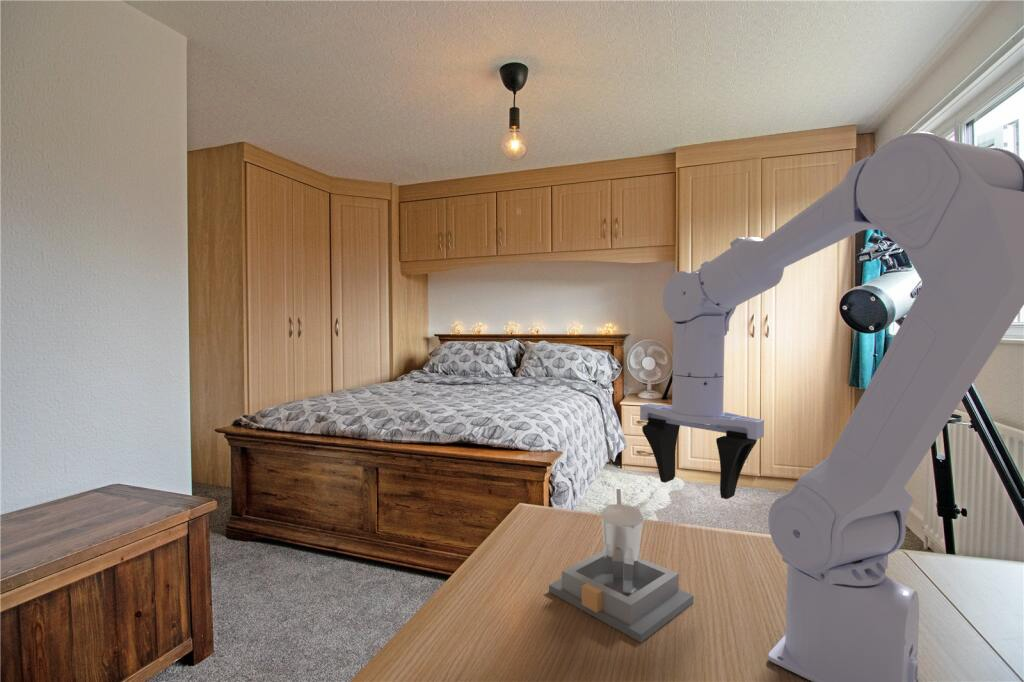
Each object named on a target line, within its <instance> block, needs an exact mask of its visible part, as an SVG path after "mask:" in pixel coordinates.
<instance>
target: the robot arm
mask: <svg viewBox="0 0 1024 682" xmlns="http://www.w3.org/2000/svg"><path fill="white" fill-rule="evenodd" d="M867 230H869V231H870V230H872V231H873V230H876V231H877V230H879V231H880V232H881V233H883V234H884V235H885V236H886V237H888V238H889V239H890V240H891V241H892V242H893V243H894V244H896V245H897V246H899V248H901V249H902V250H903V251H904V252H905V254H906V255H907V257H908V259H909V261H910V263H911V264H912V266H913V268H914V269H915V272H916V273H917V274H918V277H919V278H920V280H921V283H922V285H921V288H920V290H919V292H918V294H917V295H916V297H915V299H914V300H913V302H912V304H911V306H910V308H909V310H908V312H907V313H906V315H905V317H904V319H903V321H902V323H901V324H900V326H899V327H898V330H897V332H896V333H895V335H894V337H893V339H892V341H891V343H890V345H889V346H888V347H887V350H886V352H885V353H884V355H883V357H882V359H881V361H880V362H879V364H878V366H877V368H876V370H875V372H874V374H873V375H872V377H871V379H870V380H869V383H868V385H867V386H866V388H865V390H864V391H863V393H862V396H861V397H860V399H859V401H858V403H857V405H856V406H855V408H854V410H853V412H852V413H851V415H850V417H849V419H848V420H847V423H846V425H845V427H844V428H843V430H842V432H841V434H840V435H839V438H838V439H837V440H836V442H835V445H834V446H833V449H831V450H832V451H831V452H830V454H829V455H828V456H827V457H826V458H824V460H822V461H821V462H819V463H818V464H817V465H815V466H814V467H812V468H811V469H809V470H808V471H806V473H804V474H802V475H801V476H800V477H799V478H798V480H797V481H796V483H795V485H794V486H793V488H792V489H791V490H790V491H789V492H788V493H787V494H784V495H781V496H780V497H778V498H776V499H775V501H774V502H773V503H772V504H771V506H770V508H769V512H768V518H767V519H768V523H767V524H768V530H769V533H770V537H771V539H772V542H773V544H774V546H775V548H776V549H777V550H778V552H779V554H780V555H781V556H782V558H781V560H782V562H783V563H786V566H787V567H786V598H785V599H786V603H785V634H784V635H783V636H782V637H781V639H779V641H778V642H777V643H776V644H775V645H774V646H773V648H771V650H770V651H769V652H768V653H767V659H768V660H769V661H770V662H771V663H773V664H775V665H777V666H780V667H782V668H783V669H785V670H787V671H790V672H792V673H794V674H795V675H798V676H800V677H802V678H804V679H807V680H808V681H810V682H917V680H918V676H919V662H918V647H919V646H918V645H919V623H920V622H919V621H920V619H919V618H920V617H919V616H920V614H919V613H920V606H919V605H920V601H919V594H918V591H917V590H915V589H913V588H911V587H908V586H906V585H904V584H903V583H900V582H897V581H895V580H894V579H893V578H891V577H889V576H887V575H886V570H887V569H888V567H889V566H888V562H889V560H888V559H889V558H888V557H889V555H891V554H893V553H895V552H896V551H898V550H899V549H900V548H901V547H902V545H903V544H904V542H905V538H906V534H907V531H906V530H907V528H906V525H907V523H906V522H907V521H906V519H907V515H908V512H909V510H910V509H911V507H912V506H913V504H914V503H915V499H914V496H912V494H911V493H910V490H908V489H907V487H906V486H907V484H908V483H909V481H910V480H911V478H912V477H913V475H914V474H915V472H916V471H917V469H918V467H920V464H921V463H922V461H923V460H924V458H925V457H926V455H927V453H928V452H929V450H930V449H931V447H932V446H933V445H934V443H935V442H936V440H937V438H939V435H940V434H941V433H942V431H943V429H944V427H945V426H946V425H947V424H948V422H949V420H950V418H951V417H952V415H953V414H954V412H955V411H956V409H957V408H958V406H959V405H960V404H961V402H962V400H963V398H964V397H965V396H966V394H967V392H968V391H969V390H970V388H971V386H972V385H973V383H974V382H975V380H976V379H977V377H978V376H979V374H980V372H981V371H982V369H983V368H984V366H985V365H986V363H987V362H988V361H989V359H990V357H991V356H992V355H993V353H994V351H995V350H996V349H997V346H999V344H1000V342H1001V341H1002V339H1003V338H1004V336H1005V334H1006V333H1007V331H1008V329H1009V328H1010V327H1011V325H1012V324H1013V322H1014V320H1015V319H1016V318H1017V316H1018V314H1019V313H1020V311H1021V310H1022V308H1023V307H1024V160H1023V159H1022V158H1021V157H1020V156H1019V155H1017V154H1016V153H1014V152H1012V151H1010V150H1007V149H1002V148H997V147H983V146H978V145H974V144H969V143H964V142H960V141H956V140H952V139H947V138H945V137H943V136H940V135H938V134H935V133H932V132H927V131H926V132H925V131H918V132H917V131H916V132H910V133H906V134H902V135H899V136H897V137H895V138H893V139H891V140H889V141H887V142H886V143H884V144H883V145H881V146H880V147H879V148H878V149H877V150H876V151H875V152H874V153H872V154H871V155H870V156H867V157H864V158H862V159H860V160H858V161H856V162H855V163H853V164H852V165H850V166H849V168H848V170H847V172H846V173H845V175H844V177H843V179H842V181H841V182H839V183H838V184H837V185H835V186H834V187H833V188H832V189H830V190H829V191H828V192H826V193H825V194H823V195H822V196H820V198H818V199H817V200H815V201H814V202H812V203H811V204H810V205H808V206H807V207H806V208H804V209H803V210H802V211H801V212H799V213H798V214H796V215H795V216H793V217H792V218H791V219H790V220H788V221H787V222H785V223H784V224H783V225H781V226H780V227H779V228H777V229H776V230H774V231H772V233H771V234H769V235H768V236H766V237H765V238H761V237H758V236H757V237H756V236H748V237H735V239H733V240H732V241H731V242H729V245H730V247H729V248H728V249H727V250H725V251H724V252H722V253H721V254H719V255H718V256H715V257H714V258H713V259H711V260H705V261H704V262H702V263H701V264H700V267H699V268H698V269H696V270H693V271H692V272H690V271H685V270H679V271H678V270H677V271H676V272H674V274H673V275H672V276H671V277H670V278H669V279H668V280H667V282H666V283H665V286H664V289H663V293H662V306H663V309H664V311H665V314H666V316H667V317H668V318H669V319H670V320H672V325H673V326H672V386H671V387H672V391H671V392H672V395H671V397H672V398H671V399H672V401H671V404H672V405H669V404H668V405H665V404H657V403H656V404H655V403H644V404H640V407H639V411H640V412H639V420H640V421H646V424H644V425H642V428H641V429H642V433H643V435H644V436H645V438H646V441H647V442H648V444H649V446H650V448H651V449H650V450H651V451H652V453H653V456H654V460H655V463H656V466H657V471H658V474H659V475H658V476H659V478H660V479H659V480H660V482H661V483H665V484H666V483H668V482H670V481H673V480H674V479H675V475H676V449H677V442H678V436H679V431H680V427H681V426H682V427H686V428H687V427H688V428H694V429H700V430H706V431H712V432H717V433H721V434H722V433H723V434H725V435H723V436H720V437H716V440H715V441H716V446H717V450H718V458H719V465H720V468H719V469H720V475H719V476H720V478H719V479H720V480H719V491H720V492H719V494H720V498H721V499H724V500H729V499H731V498H732V497H735V494H736V490H737V485H738V481H739V478H740V475H741V473H742V470H743V467H744V465H745V464H746V461H747V459H748V457H749V455H750V454H751V452H752V450H753V449H754V447H755V445H756V444H757V442H758V440H759V439H762V438H764V435H765V419H760V418H755V417H749V416H745V415H740V414H735V413H731V412H726V411H724V397H725V395H724V390H725V388H724V386H725V383H724V381H725V380H724V379H725V337H726V336H727V335H728V332H730V321H731V318H732V316H733V314H734V313H735V311H736V309H737V307H738V306H740V305H741V304H744V303H745V302H747V301H749V300H751V299H753V298H754V297H757V296H758V295H761V294H762V293H764V292H766V291H769V290H770V289H772V288H774V287H776V286H778V285H779V283H780V282H781V280H782V279H783V276H784V271H785V268H787V267H789V266H791V265H793V264H795V263H796V262H799V261H801V260H803V259H805V258H807V257H810V256H812V255H813V254H816V253H818V252H820V251H822V250H824V249H827V248H828V247H830V246H832V245H834V244H837V243H839V242H840V241H843V240H845V239H846V238H848V237H851V236H853V235H855V234H857V233H860V232H861V231H862V232H863V231H867Z"/></svg>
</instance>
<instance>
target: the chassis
mask: <svg viewBox="0 0 1024 682" xmlns="http://www.w3.org/2000/svg"><path fill="white" fill-rule="evenodd" d="M679 575H680V574H679V572H676V571H673V570H670V569H668V568H666V567H664V566H661V565H659V564H656V563H653V562H651V561H648V559H647V560H646V559H644V558H641V557H639V563H638V574H637V585H636V590H635V591H634V592H632V593H630V594H621V593H619V592H617V591H615V590H613V589H611V588H609V587H607V583H606V569H605V553H604V549H603V550H601V551H598V552H597V553H595V554H592V555H591V556H588V557H587V558H585V559H582V560H580V561H579V562H577V563H574V564H573V565H571V566H569V567H567V568H565V569H563V570H561V578H560V579H558V580H556V581H554V582H552V583H549V584H548V592H549V593H550V594H552V595H554V596H556V597H558V598H559V599H561V600H563V601H564V602H566V603H568V604H570V605H572V606H574V607H575V608H578V609H579V610H581V611H582V612H585V613H587V614H588V615H589V616H592V617H594V618H595V619H597V620H600V621H601V622H603V623H604V624H606V625H609V626H610V627H611V628H614V629H616V630H617V631H619V632H620V633H623V634H624V635H626V636H628V637H630V638H632V639H634V640H635V641H637V642H639V643H640V644H642V643H644V641H645V640H646V639H648V638H649V637H651V636H652V635H653V634H655V633H656V632H657V631H659V630H660V629H662V627H664V626H665V625H667V624H668V623H669V622H670V621H671V620H673V619H674V618H675V617H677V616H679V614H681V613H682V612H683V611H684V610H686V609H688V607H690V606H691V605H693V603H694V600H695V597H694V594H691V593H689V592H687V591H684V590H682V589H680V588H679V587H680V584H679V580H680V579H679V578H680V577H679Z"/></svg>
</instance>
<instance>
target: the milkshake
mask: <svg viewBox="0 0 1024 682" xmlns="http://www.w3.org/2000/svg"><path fill="white" fill-rule="evenodd" d="M621 491H622V490H621V488H616V503H615V504H610V505H607V506H606V507H604V508H603V510H602V511H601V512H600V519H601V528H602V539H603V550H604V553H605V569H606V583H607V587H609V588H611V589H613V590H615V591H617V592H619V593H621V594H630V593H632V592H634V591H635V590H636V585H637V574H638V563H639V558H640V552H641V551H640V548H641V538H642V531H643V525H644V524H643V523H644V516H643V513H642V512H641V510H640V508H639V507H637V506H632V505H631V504H622V492H621Z"/></svg>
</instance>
